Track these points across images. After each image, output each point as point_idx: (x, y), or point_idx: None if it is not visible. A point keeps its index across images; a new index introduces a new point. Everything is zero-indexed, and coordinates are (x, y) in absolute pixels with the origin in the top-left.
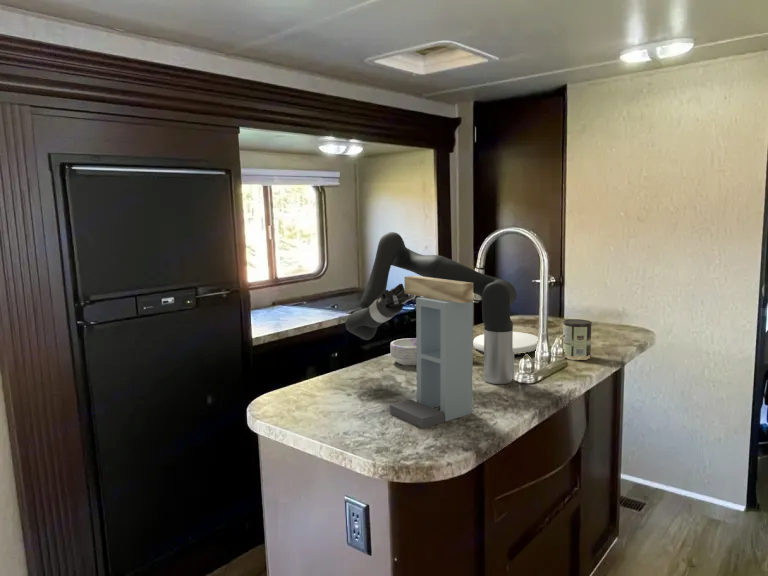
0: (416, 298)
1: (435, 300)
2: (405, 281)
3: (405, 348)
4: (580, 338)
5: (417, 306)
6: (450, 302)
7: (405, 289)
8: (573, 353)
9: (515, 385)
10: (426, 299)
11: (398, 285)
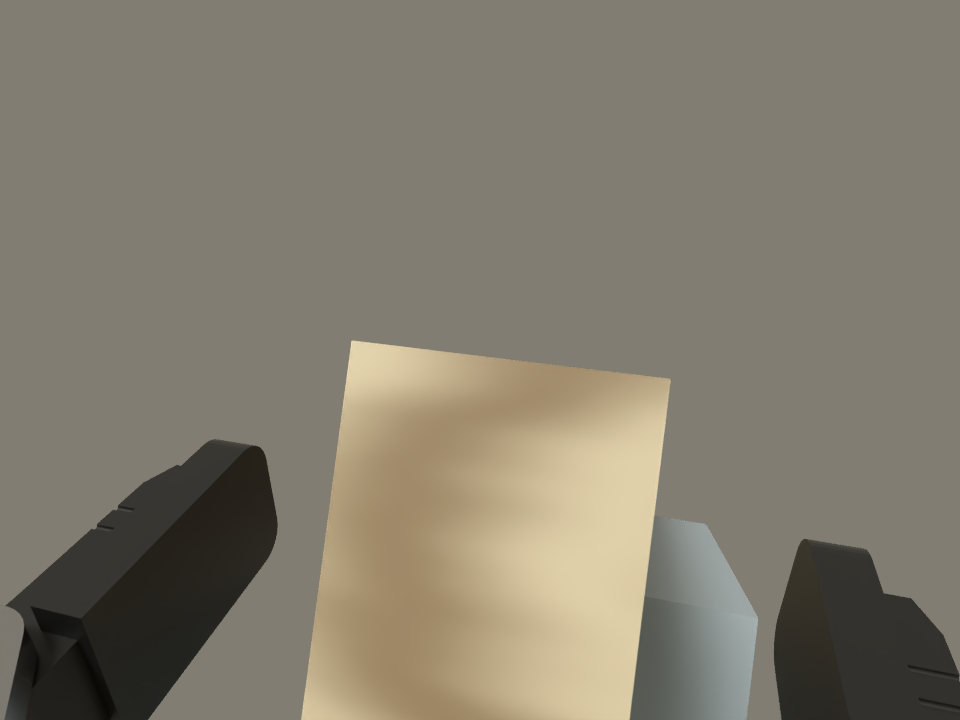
0: (756, 621)
1: (691, 546)
2: (655, 490)
3: None
4: None
5: (741, 708)
6: (662, 517)
7: (633, 684)
8: None
9: None
10: (722, 572)
11: (880, 612)
